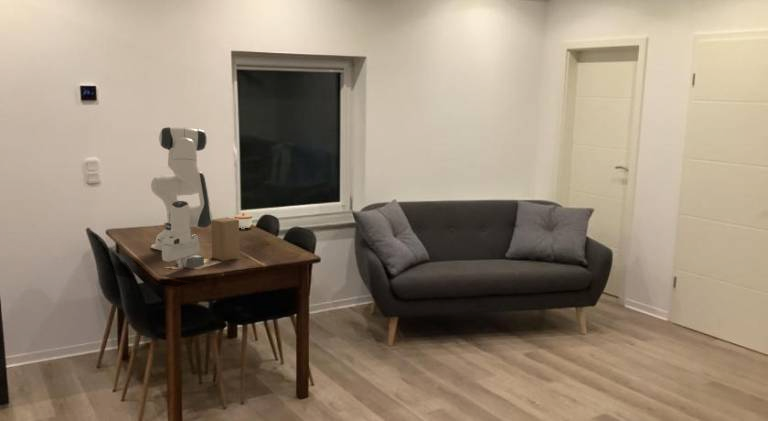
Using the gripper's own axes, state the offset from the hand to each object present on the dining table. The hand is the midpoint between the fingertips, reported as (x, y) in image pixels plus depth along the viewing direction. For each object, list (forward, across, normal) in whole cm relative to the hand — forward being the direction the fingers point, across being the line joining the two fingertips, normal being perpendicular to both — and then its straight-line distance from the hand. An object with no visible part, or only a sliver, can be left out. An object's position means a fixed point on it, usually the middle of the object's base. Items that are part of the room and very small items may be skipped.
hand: (182, 267), depth 305 cm
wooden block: (+2, -28, +1) cm, 28 cm away
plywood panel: (+2, -12, 0) cm, 12 cm away
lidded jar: (+2, -94, -43) cm, 104 cm away
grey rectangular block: (+1, -8, 0) cm, 8 cm away
